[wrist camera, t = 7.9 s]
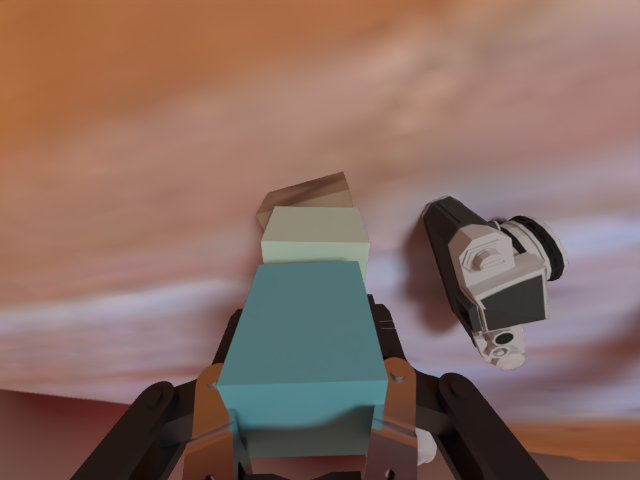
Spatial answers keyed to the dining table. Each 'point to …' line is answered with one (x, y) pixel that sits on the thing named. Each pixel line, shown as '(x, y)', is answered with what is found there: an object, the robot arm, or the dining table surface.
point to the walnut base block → (308, 196)
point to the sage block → (315, 236)
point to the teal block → (305, 362)
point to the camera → (494, 274)
